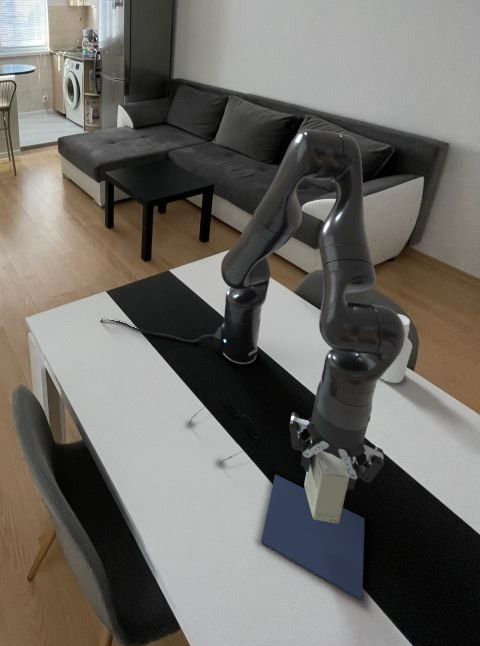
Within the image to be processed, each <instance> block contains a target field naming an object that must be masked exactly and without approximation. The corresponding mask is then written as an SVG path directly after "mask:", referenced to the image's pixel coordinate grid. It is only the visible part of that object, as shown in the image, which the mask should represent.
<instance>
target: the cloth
mask: <svg viewBox="0 0 480 646" xmlns="http://www.w3.org/2000/svg"><path fill="white" fill-rule="evenodd" d="M365 521H366V519H365V518H364V517H362V516H360V515H358V514H356V513H354V512H353V511H350V510H348V509H346V508H344V507H343V508H342V512H341V517H340V521H339V523H332V522H326V521H320V520H315V519H313V516H312V513H311V509H310V506H309V502H308V498H307V494H306V490H305V487H302V486H300V485H298V484H296V483H294V482H292V481H290V480H289V479H286V478H284V477H282V476H280V475H278V474H274V477H273V483H272V488H271V493H270V497H269V502H268V506H267V511H266V515H265V520H264V525H263V529H262V536H261V539H260V543H261V544H263V545H264V546H266V547H268V548H270V549H272V550H273V551H275V552H277V554H279V555H281V556H284V557H285V558H287V559H289V560H290V561H291V562H294V563H295V564H297V565H298V566H300V567H302V568H304V569H306V570H307V571H309V572H310V573H312V574H314V575H315V576H317V577H320V578H321V579H322V580H324V581H326V582H328V583H330V584H331V585H333V586H335V587H337V588H338V589H340V590H341V591H343V592H345V593H346V594H349V595H350V596H352V597H353V598H356V599H357V600H359V601H360V602H363V589H364V588H363V586H364V558H365V557H364V556H365V553H364V552H365V551H364V549H365V524H366V523H365Z"/></svg>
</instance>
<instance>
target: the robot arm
mask: <svg viewBox="0 0 480 646" xmlns="http://www.w3.org/2000/svg"><path fill="white" fill-rule="evenodd" d="M306 179H310V180H317V181H323V182H331V183H332V184H333V185H334V189H335V195H336V196H335V201H334V203H333V206H332V208H331V210H330V211H329V213H328V215H327V216H326V218H325V220H324V222H323V224H322V226H321V227H320V230H319V235H318V246H319V248H318V249H319V255H320V261H321V266H322V273H323V293H322V301H321V306H320V313H319V320H318V328H319V333H320V336H321V337H322V339H323V341H324V342H325V344H326V345H328V346H329V347H330V348H331V349H329V350H328V352H327V353H326V355H325V358H324V362H323V369H322V373H321V376H320V377H321V378H320V380H319V382H318V385H317V388H316V392H315V396H314V404H313V409H312V413H311V417H310V418H308V419H307V420H306V419H303V418H300V416H299V414H298V413H296V412H291V415H290V420H289V434H290V435H289V436H290V442H291V443H290V444H291V447H292V449H293V450H295V451H300V452H301V459H300V460H301V461H300V465H301V467H302V468H304V469H303V471H304V472H309V468H310V463H311V457H312V455H314V454H315V455H317V454H318V453H319V452H321V451H324V452H326V453H330V454H332V455H334V456H336V457H337V458H340V459H342V461H343V464H344V466H345V468H346V469H347V472H348V473H349V481H348V485H347V490H346V492H349V490H354V489H355V486H356V482H357V480H358V479H362V481H364V482H365V483H369V484H370V483H372V481H373V480H374V479H375V477H376V476H377V475H378V473H379V472H380V470H382V468H383V467H384V450H383V449H382V448H381V447H378V446H377V447H376V446H375V447H374V448H373V447H370V446H368V445H367V444H366V442H365V437H366V434H367V430H368V426H369V423H370V421H371V415H372V410H373V398H374V395H375V392H376V388H377V383H378V381H379V380H380V379H381V376H382V375H383V374H384V373H385V372H386V370H387V369H388V368H389V367H390V366H391V365H392V363H393V362H394V361H395V360H396V358H397V357H398V356H399V354H400V352H401V350H402V348H403V345H404V341H405V329H404V325H403V323H402V321H401V319H400V317H399V316H398V315H397V314H398V313H397V312H395V311H394V310H393V309H392V308H390V307H387V306H386V305H380V304H371V303H362V302H361V303H360V302H350V301H349V302H348V301H346V295H347V294H353V293H361V292H366V291H369V290H371V289H373V288H374V287H375V285H376V283H377V276H376V275H377V274H376V270H375V267H374V262H373V258H372V253H371V249H370V246H369V241H368V237H367V236H368V235H367V230H366V224H365V211H364V210H365V209H364V181H363V163H362V153H361V149H360V146H359V143H358V142H357V140H356V139H355V138H354V137H353V136H352V135H349V134H346V133H340V132H334V131H326V130H319V129H302V130H300V131H298V133H297V134H296V135H295V136H294V137H293V138H292V140H291V141H290V143H289V145H288V147H287V149H286V151H285V154H284V156H283V158H282V160H281V163H280V165H279V167H278V170H277V171H276V173H275V176H274V178H273V180H272V182H271V184H270V185H269V187H268V189H267V191H266V193H265V195H264V196H263V198H262V199H261V201H260V202H259V204H258V205H257V207H256V208H255V210H254V211H253V213H252V216H251V218H250V219H249V221H248V223H247V224H246V226H245V228H244V229H243V231H242V233H241V234H240V236H239V237H238V239H237V240H236V242H235V243H234V244H233V245H232V247H231V248H230V249H229V250H228V251H227V253H225V255H224V256H223V258H222V261H221V263H220V274H221V277H222V280H223V282H224V283H225V284H226V285H227V286H228V287H229V289H227V291H226V294H225V301H224V302H225V304H224V313H223V314H224V315H223V323H222V326H218V328H217V331H216V332H215V333H213V334H204V335H201V336H200V337H198V338H197V339H185V338H182V337H179V336H175V335H172V334H167V333H161V332H157V331H156V332H155V331H153V332H154V333H151V332H152V331H151V330H149V331H150V332H147V331H148V330H146V331H143V330H144V329H142V328H139V327H137V328H139V329H137V328H135V327H136V326H134V325H132V326H134V327H132V326H130V325H131V324H130V325H128V324H129V323H128V324H126V323H127V322H126V321H123V322H125V323H123V322H120V321H121V320H119V319H118V320H119V321H114V320H109V322H113V323H117V324H120V325H124V326H125V327H128V328H131V329H133V330H134V331H137V332H140V333H143V334H147V335H151V336H156V337H163V338H168V339H173V340H175V341H179V342H183V343H188V344H198V343H200V342H201V341H203V340H205V339H208V338H209V339H211V338H213V346H215V347H216V348H219V352H218V353H219V354H220V355H222V356H223V357H224V358H225V359H226V360H227V362H229V363H232V364H234V365H238V366H250V365H252V364H253V363H254V362H255V361H256V359H257V352H258V351H259V347H258V342H259V334H260V326H261V317H262V309H263V308H262V307H263V305H264V304H265V302H266V300H267V296H268V290H269V285H270V279H271V266H270V263H269V259H268V257H269V256H270V255H272V254H273V253H275V252H277V251H278V250H280V249H281V248H282V247H284V246H285V245H286V244H287V243H288V242H290V240H291V239H292V237H293V236H294V234H295V233H296V231H297V230H298V229H299V227H300V226H301V224H302V220H303V212H302V211H303V210H302V207H301V204H300V200H299V197H298V194H297V193H298V192H297V189H298V187H299V185H300V183H301V182H302V181H303V180H306ZM101 319H102V318H101ZM102 320H103V319H102ZM140 329H142V330H140ZM304 430H307V432H308V434H309V435H310V436H309V437H308V438H307V439H305V440H304V439H303V438H302V433H303V432H304ZM361 455H365V461H364V462H363V463H362V464H359V463H358V461H357V457H358V456H361Z"/></svg>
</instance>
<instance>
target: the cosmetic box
mask: <svg viewBox="0 0 480 646" xmlns="http://www.w3.org/2000/svg"><path fill="white" fill-rule="evenodd" d="M305 472H306V473H305V474H306V475H305V479H304V489H305V490H306V494H307V498H308V502H309V506H310V509H311V513H312V516H313V519H315V520H320V521H326V522H332V523H339V521H340V517H341V512H342V508H344V502H345V499H346V493H347V485H348V481H349V473H348V472H347V469H346V468H345V466H344V464H343V461H342V459H340V458H337V457H336V456H334V455H332V454H330V453H326V452H324V451H321V452H319V453H318V454H317V455H315V454H314V455H312V457H311V463H310V468H309V472H307V471H305Z"/></svg>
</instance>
